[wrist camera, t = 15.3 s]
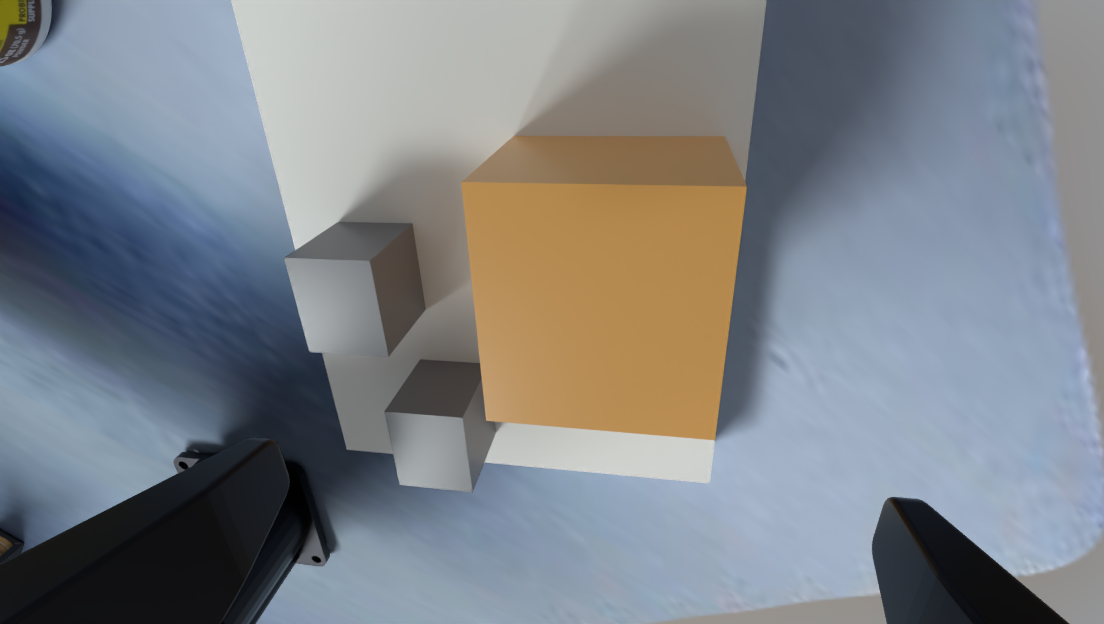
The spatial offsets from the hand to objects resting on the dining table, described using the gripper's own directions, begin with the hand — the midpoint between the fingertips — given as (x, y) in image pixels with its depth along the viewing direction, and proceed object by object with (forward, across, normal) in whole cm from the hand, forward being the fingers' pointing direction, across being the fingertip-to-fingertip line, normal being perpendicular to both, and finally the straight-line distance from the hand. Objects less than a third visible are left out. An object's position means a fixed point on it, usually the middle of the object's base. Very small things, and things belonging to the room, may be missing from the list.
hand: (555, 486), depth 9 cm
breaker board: (+12, +3, +1) cm, 12 cm away
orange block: (+10, 0, 0) cm, 10 cm away
